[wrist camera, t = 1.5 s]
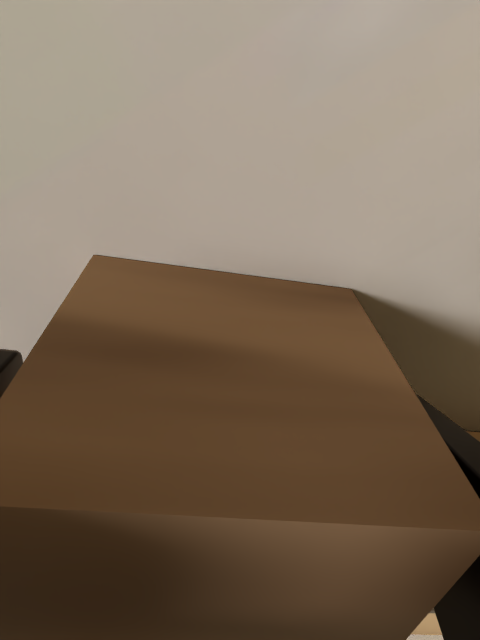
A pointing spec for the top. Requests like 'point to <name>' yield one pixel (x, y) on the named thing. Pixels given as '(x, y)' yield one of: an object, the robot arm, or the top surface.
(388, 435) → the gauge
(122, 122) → the top surface
